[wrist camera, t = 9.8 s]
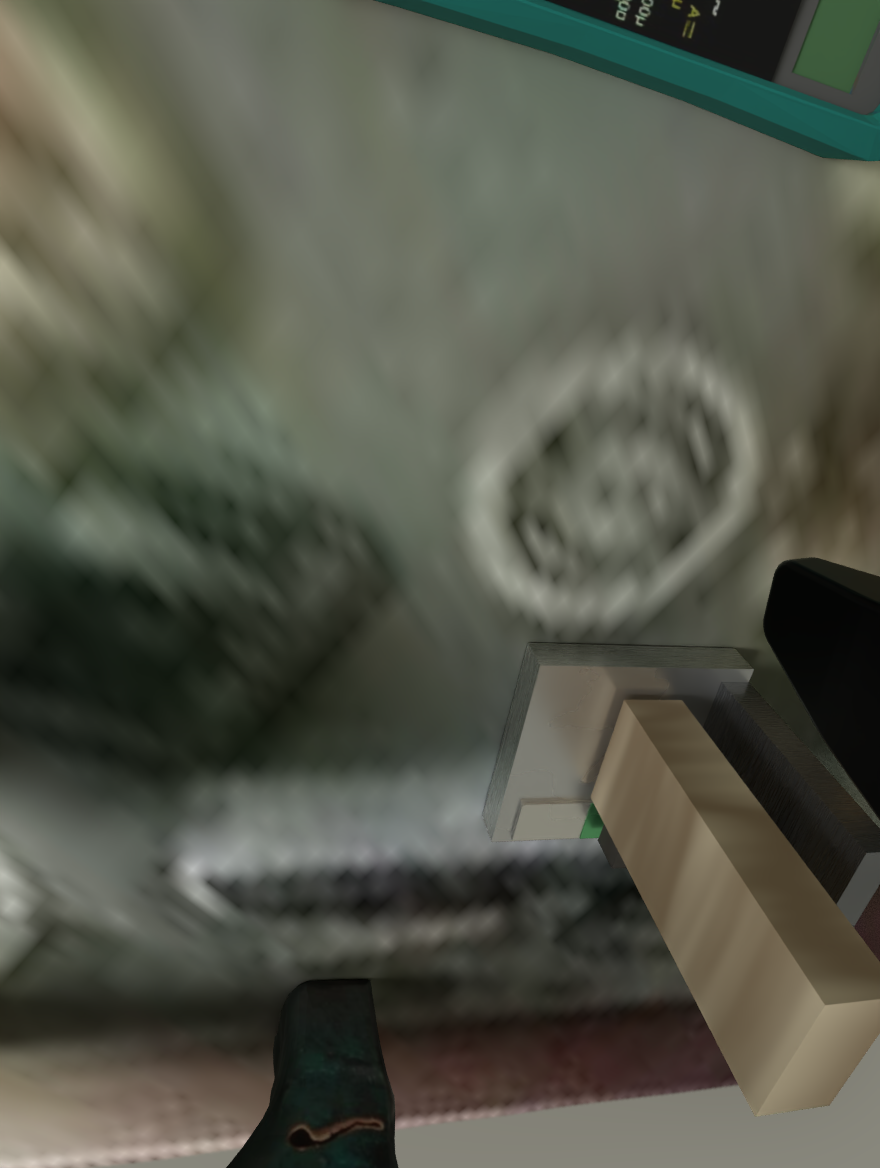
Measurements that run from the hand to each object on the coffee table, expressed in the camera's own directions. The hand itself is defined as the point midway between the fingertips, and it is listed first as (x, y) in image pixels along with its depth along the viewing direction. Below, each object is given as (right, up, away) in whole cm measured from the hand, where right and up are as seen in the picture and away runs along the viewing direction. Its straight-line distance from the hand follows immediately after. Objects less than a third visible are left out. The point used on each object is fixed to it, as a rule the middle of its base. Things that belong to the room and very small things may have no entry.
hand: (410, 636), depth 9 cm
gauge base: (+6, -4, +18) cm, 19 cm away
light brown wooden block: (+7, -6, +17) cm, 19 cm away
